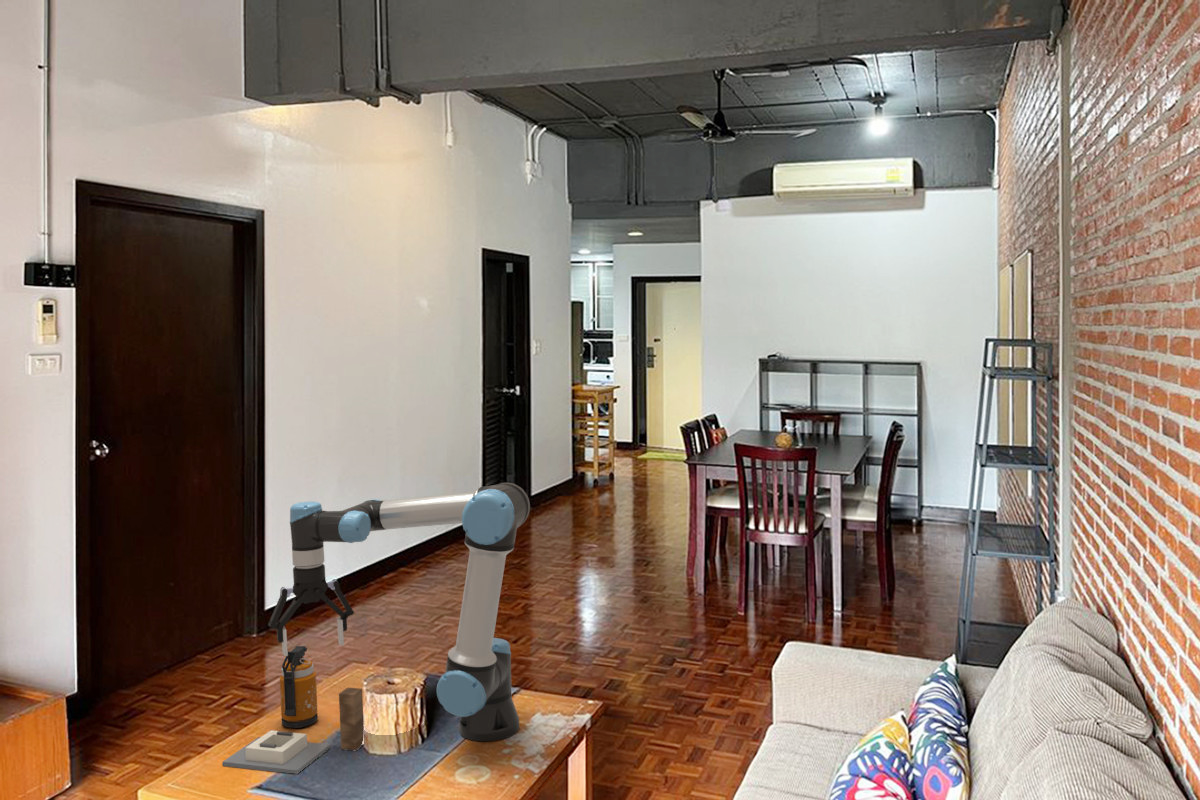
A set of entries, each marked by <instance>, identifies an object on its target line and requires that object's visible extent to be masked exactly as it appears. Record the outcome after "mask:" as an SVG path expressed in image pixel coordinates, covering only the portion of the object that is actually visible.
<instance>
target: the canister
mask: <svg viewBox="0 0 1200 800" xmlns="http://www.w3.org/2000/svg"><path fill="white" fill-rule="evenodd" d="M307 651H308V647H306V646H305V645H296V646H294V648H293V649H292V650H290V651H288V656H285V658H284V660H283V661H282V665H281V675H280V677H279V689H280V690H279V691H280V712H281V713H280V715H281V725H282V726H284V727H285V728H292V729H298V728H299V729H300V728H304V727H305V728H306V727H308V726H310V725H312V724H314V723H316V721H318V720H319V719H318V718H319V717H318V715H319V713H318V695H317V694H318V690H317V672H316V671H315V670H314V663H313V662H312V660H310V659H307V658H304V656H306V652H307Z"/></svg>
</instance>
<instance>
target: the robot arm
mask: <svg viewBox="0 0 1200 800" xmlns="http://www.w3.org/2000/svg"><path fill="white" fill-rule="evenodd" d="M530 510H531V504H530V499H529V497H528V495H527V492H525V490H524V489H523V488H522V487H521V486H519V485H517V484H515V483H513V482H512V483H511V482H500V483H498V484H494V485H487V486H485V485H484V486H479V487H478V488H477V489H476V490H475V491H466V492H458V493H446V494H436V495H426V496H415V497H406V498H396V499H394V498H392V499H386V500H385V499H384V500H381V499H376V498H375V499H369V500H365V501H363V502H362V503H359V504H357V505H354V506H351V507H348V508H346V509H343V510H329V511H328V510H323V507H322V503H320V502H319V501H302V502H297V503H293V504H292V505H291V507H290V510H289V511H290V512H289V524H290V525H289V526H290V535H291V536H290V537H291V553H292V555H291V556H292V565H293V568H292V574H293V575H292V576H293V586H292V587H285V586H282V587H281V588H280V590H279V591H280V593H279V594H280V595H279V598H278V600H277V603H276V605H275V608H274V609H273V612H272V615H271V617H270V619H269V621H268V626H269V628H270V630H271V629H272V630H273V629H275V630H276V640H277V642H278V643H280V644H281V647H282V649H281V650H282V655H283V656H284V657H286V656H288V637H287V636H288V635H287V629H286V627H285V626H286V625H287V624H288V622H289V621H290V620H291V618H292V616H293V615H294V614H295V612H296V611H297V610H298V609H299V607H300V606H301V605H302V604H305V605H307V604H311V603H318V602H319V601H321V600H322V601H323V602H324V603H325V604H326V605H327V606H328V607H330V609H332V610H333V612H335V613H336V614H337V615H338V616H339V617H336V622H337V641H338V644H339V645H340V647H342V646H345V641H344V640H345V639H344V632H346V631H347V630H348V622H347V621H348V620H347V619H348V618H349V617H350V616H353V615H354V614H355V612H354V610H353V608H352V606H351V605H350V603H349V601H348V599H347V598H346V597H345V595H344V594H343V592H342V590H341V587H340V582H339V581H338V579H332V581H329V582H328V581H326V566H325V564H324V563H325V549H324V543H328V542H329V543H348V544H353V543H362V542H365V541H366V540H367V539H368V536H369V535H370V533H371V532H376V531H385V530H386V531H387V530H396V529H405V528H406V529H408V528H420V527H431V526H432V527H433V526H442V525H443V526H445V525H446V526H447V525H455V524H456V525H458V524H462V527H463V531H465V535H464V536H465V538H464V545H465V546H466V547H467V548H468V549H469V554H468V560H467V561H468V562H467V566H466V567H467V568H466V574H465V582H464V588H463V594H462V595H463V596H462V601H461V607H460V615H459V619H458V620H459V622H458V628H457V634H456V641H455V646H453V647H451V648H450V649H449V650H448V653H447V657H446V658H447V659H446V665H445V670H444V673H443V674H442V675H441V676H440V678H439V680H438V682H437V684H436V685H437V686H436V697H437V699H438V702H439V704H440V705H441V706H442V707H443V709H444V710H445V711H446V712H448V713H449V714H452V715H453V716H456V717H460V719H459V722H458V723H459V724H458V726H459V727H458V728H459V734H460V735H461V736H462V737H463V738H465V739H467V740H470V741H475V742H495V741H501V740H504V739H507V738H509V737H512V736H514V735H515V734H516V733H517V732H518V731H519V729H520V717H519V715H518V712H517V709H516V706H515V703H514V701H513V697H512V695H513V694H512V664H511V663H512V659H511V656H512V652H511V644H510V643H509V642H508V641H507V640H506V639H503V638H498V637H494V636H495V629H496V626H497V625H496V623H497V619H498V618H497V616H498V610H499V603H500V597H501V592H502V586H503V585H502V584H503V579H504V578H503V577H504V574H505V573H504V571H505V565H506V559H507V555H508V554H509V553H511V552H513V550H514V549H515V542H516V537H517V531H518V530H517V529H518V528H519V527H521V526H522V525H523V524H524V523H525V522H526V520H527V518H528V517H529V515H530ZM328 589H331V590H332V591H333V592H334V593H335V594H336V596H337V598H338V600H339V601H340V603H341V605H342V606H343V608H344V609H345V610H344V611H343V610H342V609H341V608H340V607H338V605H337V604H336V603H334V602H333V601H332V600H331V599H330V598H329V597H328V596H327V595H325V593H326V591H327V590H328ZM291 594H293V595H294V596H295V597H293V599H292V602H291V603H290V605H289V607H288V608H287V609H286V610H285V612H284V613H283V615H282V616H281V614H282V612H283V610H284V608H285V605H286V602H287V598H289V597H291ZM280 616H281V617H280Z"/></svg>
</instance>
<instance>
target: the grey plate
mask: <svg viewBox="0 0 1200 800" xmlns="http://www.w3.org/2000/svg"><path fill="white" fill-rule="evenodd" d="M329 748H330V749H331V744H328V743H322V742H321V743H318V742H310V741H308V734H307V733H302V732H301V733H300V732H292V731H291V732H290V731H281V730H269V731H267V733H265V734H263V735H262V736H258V737H256V738H255V739H253V740H252V741H250V742H249V743H248V744H246V745H245V746H243V747H242V748H240V749H238V750H237V751H236V752H235V753H233V754H231V755H229V757H227V758H225V759H224V760H223V761H222V763H221V764H222V767H228V768H229V767H230V768H237V769H248V770H253V771H254V770H255V771H265V772H272V773H273V772H274V773H279V772H287V773H286V774H288V773H295V774H294V775H296V774H298V773H299V772H300V771H301V772H302V770H303V769H304V768H305V767H306V768H308V767H309V766H310V765H312V762H313V761H314V760H315V759H316V760H318V759H319V758H320V757H322V756H323V755H324V754H325V753H326V752H327V751H326V750H328V749H329ZM330 749H329V750H330ZM329 750H328V751H329ZM324 752H325V753H324ZM323 753H324V754H323ZM322 754H323V755H322ZM318 757H319V758H318ZM317 758H318V759H317ZM316 760H315V761H316ZM315 761H314V762H315ZM314 762H313V763H314ZM309 764H310V765H309ZM308 765H309V766H308ZM307 766H308V767H307ZM306 768H305V769H306ZM305 769H304V770H305ZM304 770H303V771H304ZM301 772H300V773H301ZM300 773H299V774H300ZM299 774H298V775H299Z"/></svg>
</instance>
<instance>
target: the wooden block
mask: <svg viewBox="0 0 1200 800" xmlns="http://www.w3.org/2000/svg"><path fill="white" fill-rule="evenodd" d="M338 700H339V701H338V703H339V705H338V707H339V727H340V728H339V729H340V731H339V732H340V750H341V749H349V750H357V749H358V748H359V747H360V746H361V744H362V741H363V725H364V706H363V705H364V704H363V703H364V701H363V689H362V688H357V687H356V688H355V687H347V688H345V689H344V690H341V691H340V692H339V693H338ZM359 749H360V748H359ZM359 749H358V750H359ZM358 750H357V751H358Z"/></svg>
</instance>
